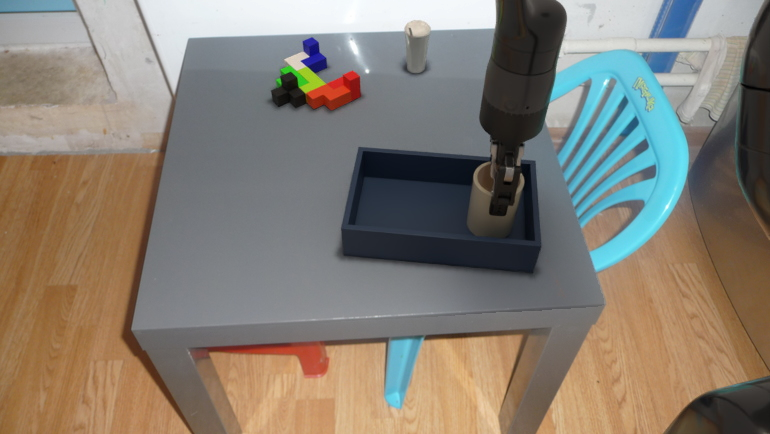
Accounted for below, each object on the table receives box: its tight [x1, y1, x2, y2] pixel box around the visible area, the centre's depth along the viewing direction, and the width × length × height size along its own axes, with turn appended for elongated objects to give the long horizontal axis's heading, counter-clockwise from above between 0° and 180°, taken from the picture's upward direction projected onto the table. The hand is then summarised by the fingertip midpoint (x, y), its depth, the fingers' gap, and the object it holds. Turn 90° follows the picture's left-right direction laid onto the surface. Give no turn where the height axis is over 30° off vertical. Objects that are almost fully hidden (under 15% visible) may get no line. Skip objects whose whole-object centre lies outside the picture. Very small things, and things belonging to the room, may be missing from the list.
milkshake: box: [403, 19, 432, 74], centre depth 104 cm, size 5×5×10 cm
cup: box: [466, 162, 524, 238], centre depth 80 cm, size 7×7×9 cm
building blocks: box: [270, 36, 362, 111], centre depth 102 cm, size 15×13×4 cm
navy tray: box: [340, 146, 543, 274], centre depth 82 cm, size 26×16×6 cm, turn 83°
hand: (496, 189), depth 78 cm, fingers open, 8 cm apart
